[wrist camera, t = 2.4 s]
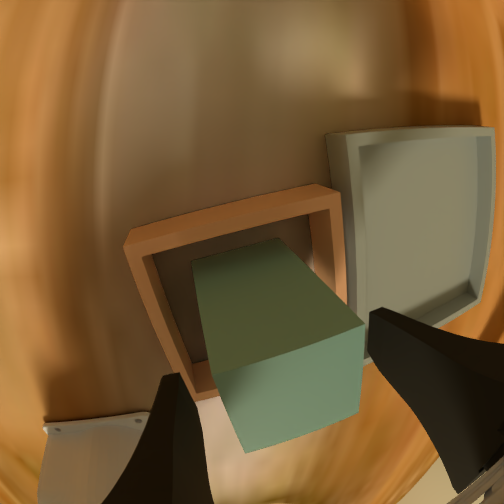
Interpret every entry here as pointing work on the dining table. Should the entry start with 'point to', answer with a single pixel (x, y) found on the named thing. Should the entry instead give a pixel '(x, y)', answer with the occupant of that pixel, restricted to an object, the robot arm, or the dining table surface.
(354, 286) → the slate tray
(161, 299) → the orange square frame
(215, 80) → the dining table surface
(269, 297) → the teal block
